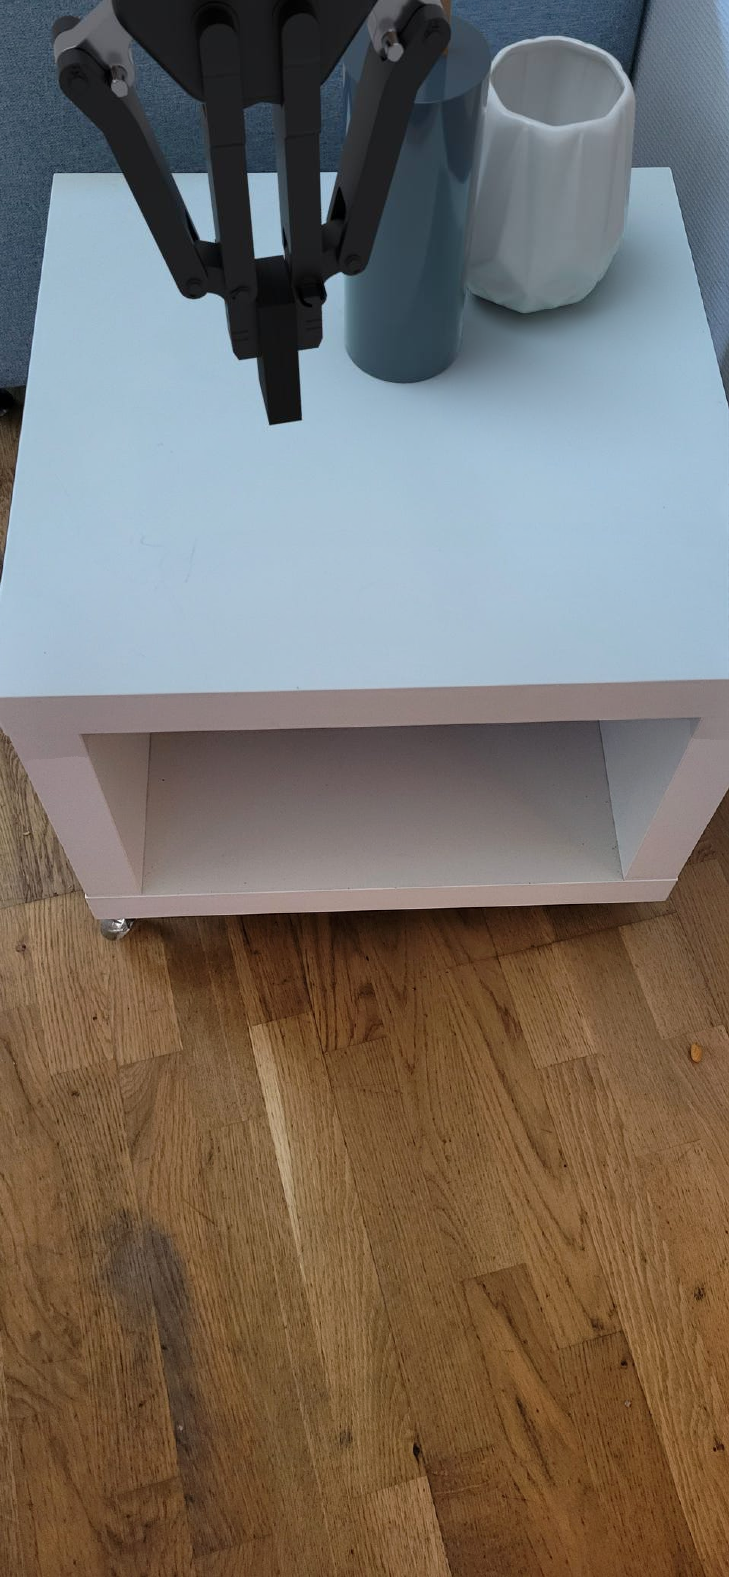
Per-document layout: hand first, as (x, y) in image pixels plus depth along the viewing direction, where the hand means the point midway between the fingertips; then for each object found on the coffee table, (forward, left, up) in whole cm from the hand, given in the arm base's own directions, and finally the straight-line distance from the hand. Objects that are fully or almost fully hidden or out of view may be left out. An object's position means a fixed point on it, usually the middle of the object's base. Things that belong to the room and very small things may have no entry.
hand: (280, 400), depth 51 cm
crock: (+13, +29, -26) cm, 42 cm away
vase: (+25, +35, -27) cm, 51 cm away
